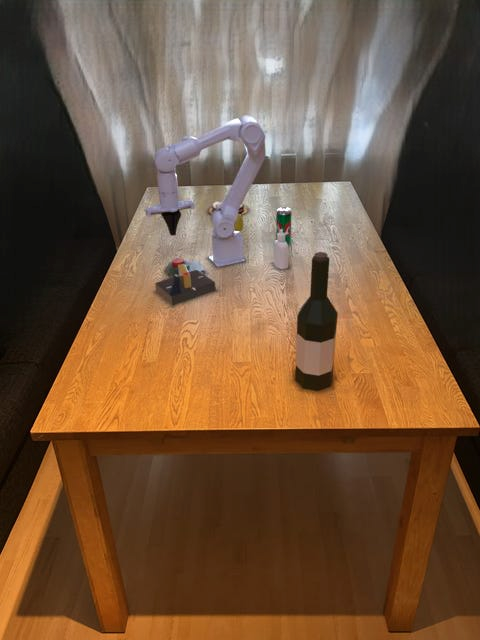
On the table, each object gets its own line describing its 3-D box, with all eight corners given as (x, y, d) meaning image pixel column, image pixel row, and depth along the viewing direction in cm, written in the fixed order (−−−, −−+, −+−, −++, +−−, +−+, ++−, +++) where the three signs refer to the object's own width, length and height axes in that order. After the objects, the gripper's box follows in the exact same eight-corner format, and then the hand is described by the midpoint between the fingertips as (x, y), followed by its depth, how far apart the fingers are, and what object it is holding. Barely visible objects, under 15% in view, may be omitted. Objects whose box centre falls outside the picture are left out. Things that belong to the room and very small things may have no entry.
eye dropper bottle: (287, 261, 167) (288, 226, 161) (288, 269, 162) (289, 233, 156) (273, 262, 167) (273, 226, 161) (274, 270, 162) (274, 233, 156)
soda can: (291, 240, 181) (291, 206, 175) (290, 246, 177) (291, 212, 171) (276, 240, 182) (276, 206, 175) (275, 246, 177) (275, 211, 171)
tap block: (196, 277, 160) (195, 267, 158) (217, 292, 151) (216, 282, 150) (154, 290, 153) (153, 281, 151) (174, 307, 145) (172, 297, 143)
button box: (195, 263, 168) (195, 255, 166) (205, 273, 162) (204, 264, 160) (165, 270, 164) (164, 261, 163) (173, 281, 158) (172, 272, 156)
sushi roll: (244, 217, 200) (244, 207, 198) (206, 217, 202) (205, 206, 200) (249, 204, 213) (249, 194, 210) (212, 203, 215) (212, 193, 212)
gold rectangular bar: (178, 277, 153) (177, 263, 151) (184, 276, 154) (183, 262, 152) (185, 288, 147) (183, 275, 145) (191, 287, 148) (190, 273, 146)
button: (181, 262, 163) (181, 256, 162) (185, 266, 160) (185, 261, 159) (170, 264, 162) (170, 259, 161) (174, 269, 159) (173, 263, 158)
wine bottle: (292, 368, 120) (295, 247, 104) (328, 366, 120) (337, 244, 104) (298, 392, 113) (303, 265, 97) (336, 389, 113) (348, 262, 97)
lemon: (242, 237, 184) (241, 215, 180) (226, 236, 186) (225, 214, 181) (245, 231, 189) (244, 209, 185) (230, 230, 190) (229, 209, 186)
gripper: (148, 199, 149) (153, 243, 156) (196, 191, 154) (199, 234, 161) (141, 191, 155) (147, 235, 162) (188, 184, 159) (191, 226, 167)
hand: (172, 234), depth 162 cm, fingers closed
